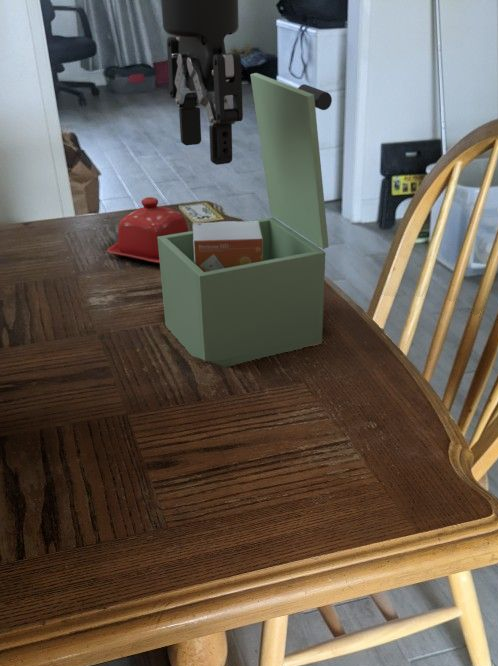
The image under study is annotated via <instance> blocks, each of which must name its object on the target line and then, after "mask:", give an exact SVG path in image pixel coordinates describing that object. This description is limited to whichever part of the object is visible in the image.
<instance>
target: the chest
mask: <svg viewBox="0 0 498 666" xmlns="http://www.w3.org/2000/svg"><path fill="white" fill-rule="evenodd" d="M253 221H259V223H260V229H261V234H262V239H263V261H261V262H256V263H250V264H245V265H240V266H235V267H229V268H224V269H219V270H213V271H208V272H203V271H202V270H201V269H200V268H199V267H198V266H197V265H196V264H195V263H194V246H193V230H189V232H183V233H177V234H171V235H165V236H159V237H157V239H158V250H159V261H160V263H159V270H160V272H159V273H160V282H161V293H162V303H163V313H164V324H165V325H164V326H165V327H166V328H167V330H168V331H169V330H170V331H171V332H170V331H169V332H170V333H171V334H172V335H173V337H174V338H175V339H176V338H177V339H178V340H177V339H176V340H177V341H178V342H179V343H180V345H181V346H182V347H183V346H184V347H185V348H184V347H183V348H184V349H185V350H186V351H187V353H188V354H189V355H190V356H191V357H194V358H197V359H201V360H203V362H209V363H212V364H214V365H218V366H222V367H224V368H229V367H233V366H237V365H236V364H238V365H241V364H240V363H242V364H244V363H243V362H246V363H248V362H247V361H250V362H252V361H251V360H254V361H256V360H255V359H258V358H262V357H266V356H270V355H273V354H279V353H282V352H288V351H291V350H292V352H294V351H293V350H296V349H300V348H303V347H305V346H309V345H314V344H318V343H322V344H323V325H324V300H325V278H326V277H325V276H326V251H324V249H322V248H320V247H319V246H317V245H316V244H314V243H313V242H311V241H310V240H308V239H307V238H305V237H304V236H302V235H301V234H299V233H298V232H296V231H295V230H293V229H292V228H290V227H289V226H287V225H286V224H284V223H283V222H281V221H280V220H278V219H277V218H275V217H274V216H272V217H265V218H261V219H254V220H253ZM300 350H301V349H300ZM296 351H297V350H296ZM288 353H289V352H288ZM279 355H280V354H279ZM258 360H259V359H258Z"/></svg>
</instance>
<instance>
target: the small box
mask: <svg viewBox="0 0 498 666" xmlns="http://www.w3.org/2000/svg"><path fill="white" fill-rule="evenodd" d="M192 231H193V246H194V263H195V264H196V265H197V266H198V267H199V268H200V269H201V270H202V271H203V272H208V271H213V270H219V269H224V268H229V267H235V266H240V265H245V264H250V263H256V262H261V261H263V239H262V234H261V229H260V223H259V221H254V220H245V221H243V220H241V221H236V220H234V221H232V220H228V221H225V220H224V221H214V222H213V221H210V222H192Z"/></svg>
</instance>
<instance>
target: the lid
mask: <svg viewBox="0 0 498 666" xmlns="http://www.w3.org/2000/svg"><path fill="white" fill-rule="evenodd" d="M250 83H251V89H252V97H253V102H254V109H255V116H256V123H257V130H258V137H259V145H260V152H261V159H262V164H263V165H262V166H263V173H264V178H265V179H264V181H265V186H266V187H265V188H266V193H267V200H268V208H269V215H271V216H272V217H273V218H275V219H276V220H278V221H279V222H281V223H282V224H284V225H285V226H287V227H288V228H290V229H291V230H293V231H294V232H296V233H297V234H299V235H300V236H302V237H303V238H305V239H306V240H308V241H309V242H311V243H312V244H314V245H315V246H317V247H318V248H320V249H321V250H325V249H328V248H329V247H330V245H329V237H328V236H329V235H328V226H327V216H326V215H327V214H326V205H325V194H324V185H323V174H322V172H323V171H322V165H321V163H322V162H321V153H320V142H319V133H318V123H317V121H318V120H317V111H316V109H319V110H321V111H327V110H328V109H329V108H330V107H331V105H332V102H333V98H332V95H331V93H329V92H328V91H324V90H323V89H320V88H316V87H313V86H311V85H308V84H301V85H299V87H295V86H292V85H290V84H287V83H284V82H281V81H279V80H277V79H275V78H272V77H269V76H266V75H263V74H261V73H258V72H254V73H251V74H250Z"/></svg>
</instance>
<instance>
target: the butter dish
mask: <svg viewBox="0 0 498 666" xmlns="http://www.w3.org/2000/svg"><path fill="white" fill-rule="evenodd" d="M140 203H141V205H142V206H143V207H141V208H137V209H135V210H133V211H131V212H130V213H128V214H127V215H125V216H124V217H123V218H122V219H121V220H120V221H119V224H118V230H117V231H118V233H117V242H116V243H114V244H113V245H111V246H110V247H108V248H107V250H106V252H107V253H108V254H111V255H115V256H116V255H117V256H121V257H126V258H131V259H137V260H141V261H145V262H150V263H155V264H160V261H159V250H158V239H157V237H159V236H165V235H171V234H177V233H183V232H189V231H190V230H189V227H188V224H187V221H186V218H185V216H184V214H182V213H181V212H179V211H177V210H175V209H172V208H169V207H164V206H159V205H158V203H159V199H158V198H156V197H152V196H148V197H145V198H142V200H141V202H140Z"/></svg>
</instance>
